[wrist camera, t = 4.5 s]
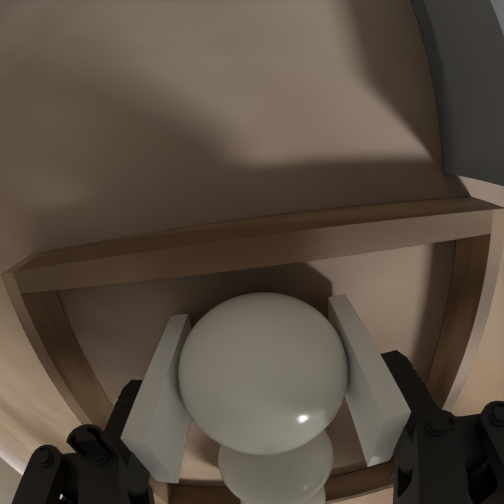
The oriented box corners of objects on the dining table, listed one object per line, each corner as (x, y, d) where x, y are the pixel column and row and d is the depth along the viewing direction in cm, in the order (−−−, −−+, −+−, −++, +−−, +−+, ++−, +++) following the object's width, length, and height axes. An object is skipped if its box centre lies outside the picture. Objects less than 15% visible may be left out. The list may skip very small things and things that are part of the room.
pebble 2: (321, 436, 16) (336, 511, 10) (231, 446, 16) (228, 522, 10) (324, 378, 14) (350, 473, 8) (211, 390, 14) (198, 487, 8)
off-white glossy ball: (327, 367, 13) (356, 467, 8) (208, 380, 14) (193, 481, 8) (326, 256, 11) (385, 348, 6) (179, 275, 12) (127, 374, 6)
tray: (400, 461, 18) (407, 481, 16) (166, 487, 19) (162, 507, 17) (471, 196, 11) (506, 208, 8) (31, 255, 11) (0, 274, 9)
